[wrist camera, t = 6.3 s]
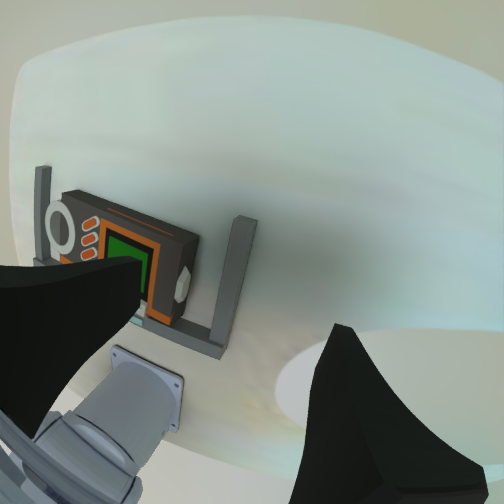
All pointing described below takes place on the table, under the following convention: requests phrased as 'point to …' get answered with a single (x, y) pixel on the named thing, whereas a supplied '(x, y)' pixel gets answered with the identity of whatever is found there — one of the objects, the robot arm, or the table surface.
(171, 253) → the electronic device
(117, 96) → the table surface
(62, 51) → the table surface
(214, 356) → the dock
